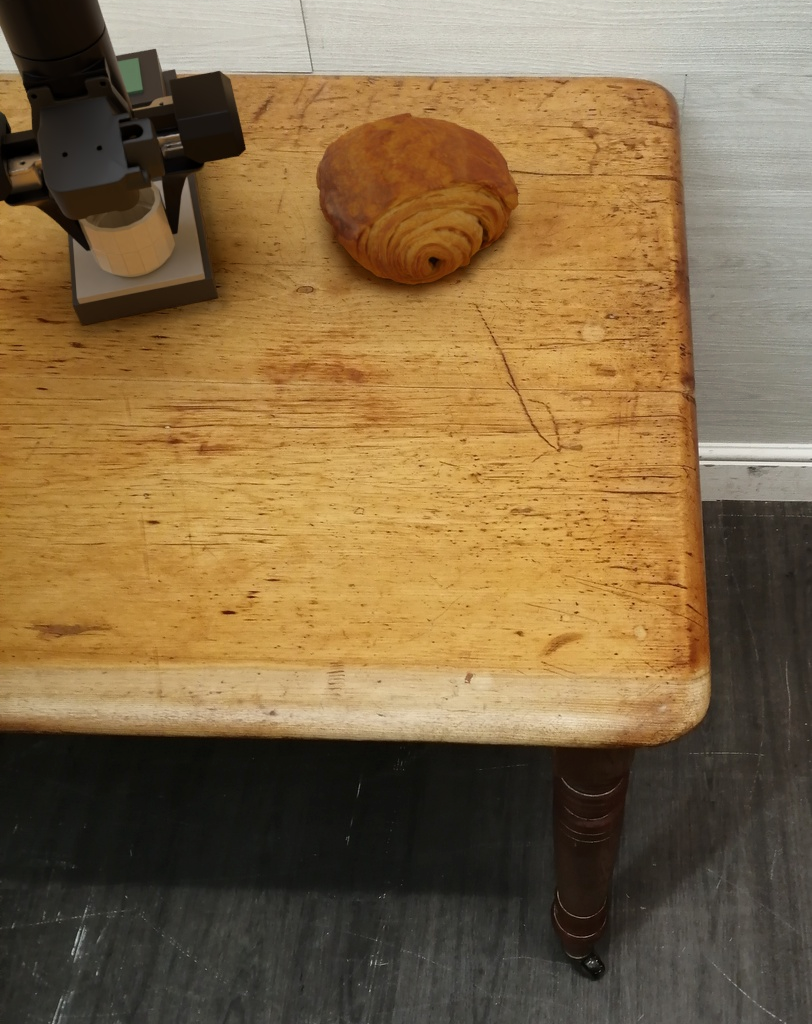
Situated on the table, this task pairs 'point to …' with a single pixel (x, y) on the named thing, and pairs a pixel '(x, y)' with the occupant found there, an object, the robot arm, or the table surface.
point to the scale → (190, 259)
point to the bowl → (131, 236)
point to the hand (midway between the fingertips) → (131, 238)
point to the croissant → (415, 196)
